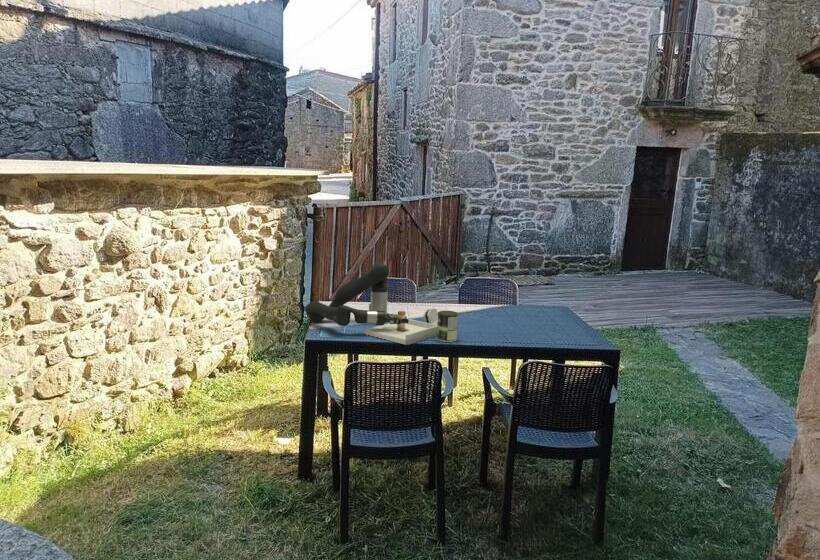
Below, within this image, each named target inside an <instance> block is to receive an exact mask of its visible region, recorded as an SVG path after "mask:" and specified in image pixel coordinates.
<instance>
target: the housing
mask: <svg viewBox="0 0 820 560" xmlns="http://www.w3.org/2000/svg"><path fill="white" fill-rule="evenodd" d="M407 319H408V320H409V322H408V323H405V332H401V331H397V324H390V323H385V324H384V325H376V326H373V327H370V328H367V329H364V332H363V334H366V335H365V336H368V335H370V336H369V337H372V336H374V337H373V338H376V337H379V338H378V339H380V338H382V339H381V340H384V339H386V340H385V341H389V340H390V341H389V342H393V341H394V342H393V343H398V344H401V345H405V346H409V345H412V344H415V343H418V342H421V341H420V340H422V341H424V340H423V339H425V340H427V339H426V338H428V339H430V337H431V338H433V336H434V337H437V327H438V325H435V324H430V323H425V321H420V320H415V319H410V318H407ZM397 322H398V320H397ZM417 341H418V342H417Z"/></svg>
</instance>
